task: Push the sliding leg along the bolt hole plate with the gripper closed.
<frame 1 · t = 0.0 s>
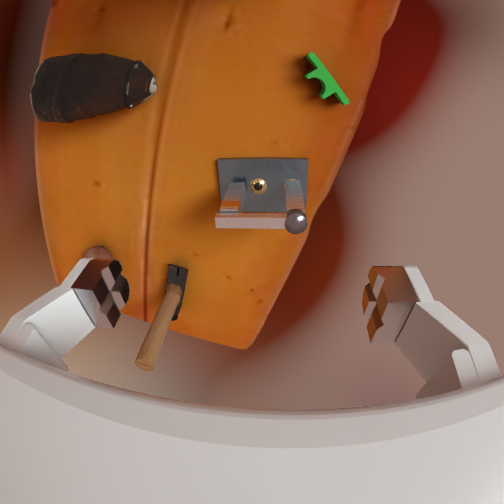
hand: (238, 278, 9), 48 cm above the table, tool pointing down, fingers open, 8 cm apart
dark brown oval body: (111, 82, 45), on the table
bolt hole plate: (263, 184, 57), on the table
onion: (104, 252, 73), on the table
sliding leg: (234, 200, 52), point 8 cm above the table, slide at 0.0 cm
divider beam: (292, 184, 57), resting on bolt hole plate
hammer: (177, 284, 78), on the table
pipe clamp: (320, 80, 43), on the table
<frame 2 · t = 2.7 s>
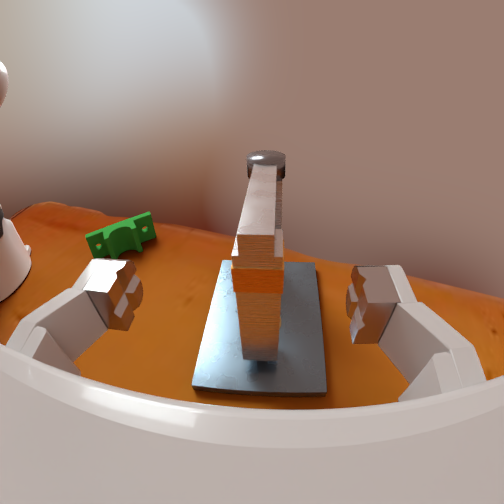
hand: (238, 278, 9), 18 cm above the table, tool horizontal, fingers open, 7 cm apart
bolt hole plate: (264, 320, 30), on the table
sliding leg: (260, 309, 21), point 8 cm above the table, slide at 0.0 cm
divider beam: (267, 283, 35), resting on bolt hole plate
pipe clamp: (126, 252, 42), on the table
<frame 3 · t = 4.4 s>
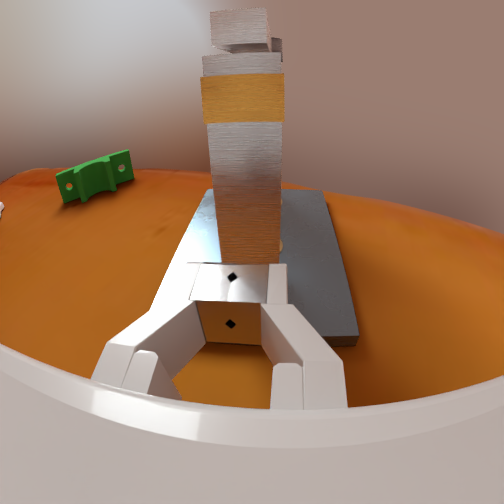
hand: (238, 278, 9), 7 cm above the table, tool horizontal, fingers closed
bolt hole plate: (259, 248, 22), on the table
sliding leg: (250, 183, 13), point 8 cm above the table, slide at 0.0 cm
divider beam: (263, 211, 27), resting on bolt hole plate
pipe clamp: (98, 194, 34), on the table
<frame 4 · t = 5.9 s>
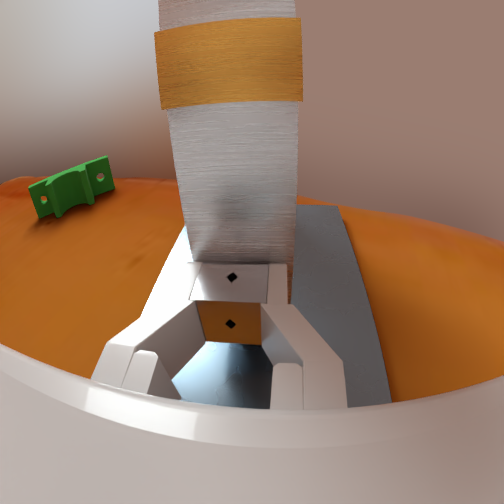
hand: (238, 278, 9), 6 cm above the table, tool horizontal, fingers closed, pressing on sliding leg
bolt hole plate: (259, 289, 16), on the table
sliding leg: (245, 204, 9), point 8 cm above the table, slide at 1.0 cm, touching gripper
pipe clamp: (75, 207, 29), on the table
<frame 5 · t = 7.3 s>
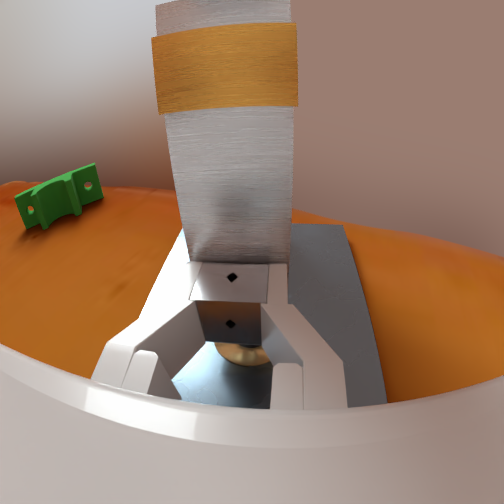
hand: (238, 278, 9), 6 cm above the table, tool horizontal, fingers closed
bolt hole plate: (253, 329, 14), on the table
sliding leg: (242, 207, 9), point 8 cm above the table, slide at 4.0 cm
pipe clamp: (63, 218, 27), on the table
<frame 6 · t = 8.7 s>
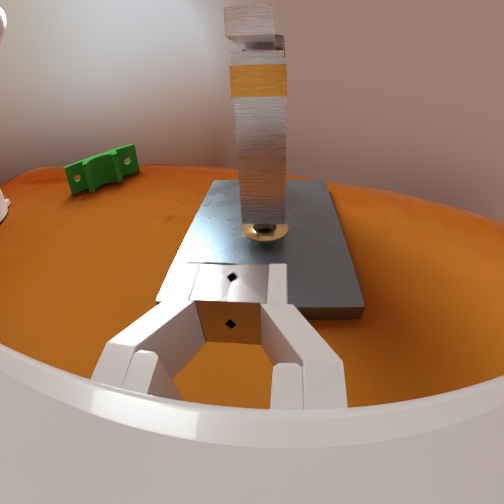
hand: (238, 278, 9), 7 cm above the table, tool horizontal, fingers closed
bolt hole plate: (265, 232, 23), on the table
sliding leg: (262, 144, 18), point 8 cm above the table, slide at 4.0 cm
divider beam: (268, 199, 28), resting on bolt hole plate
pipe clamp: (105, 185, 36), on the table
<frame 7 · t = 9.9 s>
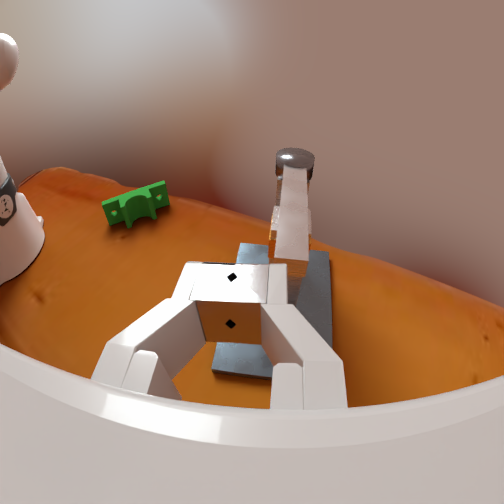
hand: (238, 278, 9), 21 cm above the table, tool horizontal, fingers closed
bolt hole plate: (279, 307, 32), on the table
sliding leg: (284, 272, 26), point 8 cm above the table, slide at 4.0 cm
divider beam: (282, 268, 36), resting on bolt hole plate
pipe clamp: (140, 218, 44), on the table
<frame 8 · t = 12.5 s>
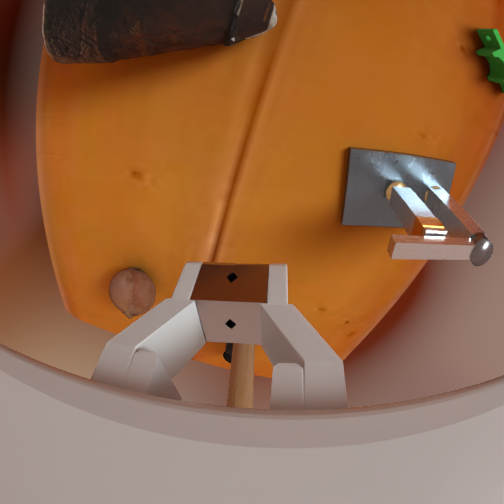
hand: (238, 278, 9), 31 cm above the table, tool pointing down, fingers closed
dark brown oval body: (179, 14, 25), on the table
bolt hole plate: (400, 190, 38), on the table
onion: (140, 276, 53), on the table
sliding leg: (413, 214, 32), point 8 cm above the table, slide at 4.0 cm
divider beam: (431, 193, 37), resting on bolt hole plate
hammer: (246, 318, 58), on the table
pipe clamp: (487, 61, 22), on the table
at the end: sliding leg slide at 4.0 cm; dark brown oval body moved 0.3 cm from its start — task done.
